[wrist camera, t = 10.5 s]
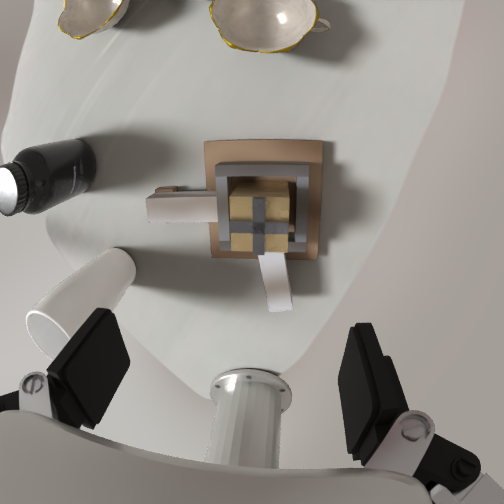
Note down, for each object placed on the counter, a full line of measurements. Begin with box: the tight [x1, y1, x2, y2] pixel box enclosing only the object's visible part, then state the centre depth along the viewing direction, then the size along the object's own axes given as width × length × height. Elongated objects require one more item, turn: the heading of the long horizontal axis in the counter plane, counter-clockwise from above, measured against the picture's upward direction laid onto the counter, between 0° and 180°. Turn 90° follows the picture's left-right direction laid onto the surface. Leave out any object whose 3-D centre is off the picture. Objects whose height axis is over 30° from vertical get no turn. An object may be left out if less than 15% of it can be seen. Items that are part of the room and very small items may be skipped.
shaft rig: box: [146, 139, 323, 312], centre depth 29 cm, size 17×16×4 cm
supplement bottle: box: [0, 139, 96, 216], centre depth 23 cm, size 7×7×12 cm
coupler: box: [229, 180, 290, 255], centre depth 25 cm, size 4×4×7 cm
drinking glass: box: [26, 248, 136, 361], centre depth 27 cm, size 7×7×15 cm
